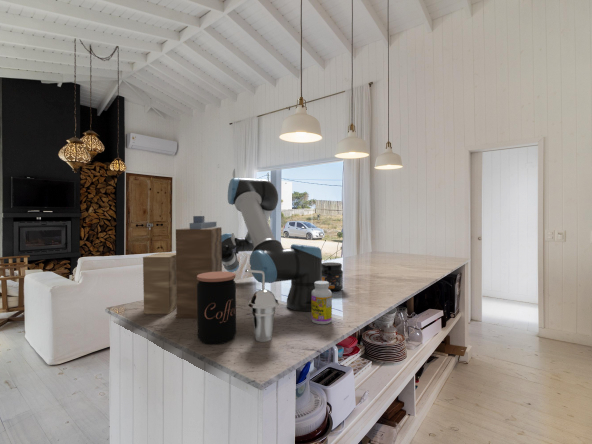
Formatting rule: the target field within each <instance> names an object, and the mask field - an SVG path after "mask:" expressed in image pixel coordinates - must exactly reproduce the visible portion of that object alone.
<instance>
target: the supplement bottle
mask: <svg viewBox="0 0 592 444" xmlns="http://www.w3.org/2000/svg"><path fill="white" fill-rule="evenodd" d="M314 286H315V289H314V290H313V291H312V293H311V311H310V312H311V322H312V323H314V324H318V325H326V324H330V323H331V322H332V319H333V316H332V313H333V310H332V309H333V307H332V306H333V302H332V300H333V292H331V291H330V290H329V289H328V287H329V282H327V281H316V282H315V283H314Z"/></svg>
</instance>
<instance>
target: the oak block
mask: <svg viewBox="0 0 592 444" xmlns="http://www.w3.org/2000/svg"><path fill="white" fill-rule="evenodd" d="M142 269H143V271H142V272H143V273H142V275H143V277H142V278H143V281H142V283H143V284H142V285H143V288H142V289H143V314H145V315H146V314H147V315H148V314H150V315H153V314H154V315H155V314H157V315H159V314H161V315H162V314H163V315H164V314H165V315H166V314H167V315H170V314H171V313H172V312H174V311H175V310H177V287H176V252H157V253H154V254H149V255H146V256H143V257H142Z"/></svg>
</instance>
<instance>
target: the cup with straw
mask: <svg viewBox="0 0 592 444" xmlns="http://www.w3.org/2000/svg"><path fill="white" fill-rule="evenodd" d="M244 271H245V273H251V274H252V273H261V274H262V283H261V289H258V290H257V291H255V292H254V293H253V294H252V296H251V299H250V300H248V304H247V305H248V307H249V308H250V311H251V315H252V319H253V320H252V322H253V330H254V335H255V340H256V341H257V342H261V343H262V342H263V343H264V342H265V343H266V342H269V341H271V340H272V335H273V328H274V320H275V319H274V318H275V313H276V310H277V306H279V300H278V299H276V297H275V294H274V293H273V292H272V291H271V290H269V289H265V286H266V285H265V284H266V283H265V274H264V272H263V271H258V270H251V269H245V270H244Z"/></svg>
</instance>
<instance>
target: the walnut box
mask: <svg viewBox="0 0 592 444" xmlns="http://www.w3.org/2000/svg"><path fill="white" fill-rule="evenodd" d="M222 235H223V234H222V227H217V226H216V227H211V228H205V229H190V227H183V228H177V229H175V253H176V287H177V308H176V314H175V318H176V319H197V284H198V282H199V281H198V280H197V275H199V274H202V273H207V272H222V271H223V264H222Z"/></svg>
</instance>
